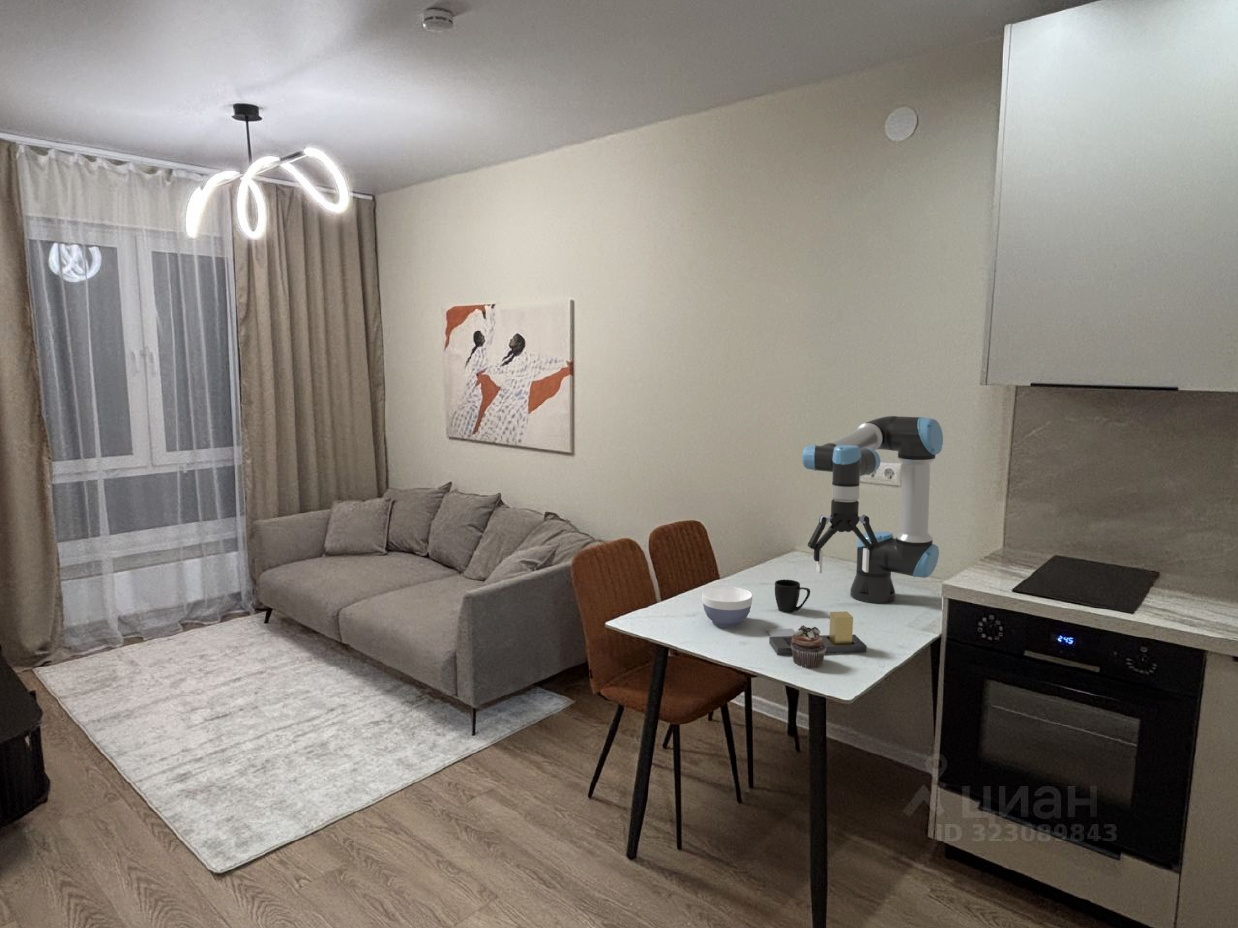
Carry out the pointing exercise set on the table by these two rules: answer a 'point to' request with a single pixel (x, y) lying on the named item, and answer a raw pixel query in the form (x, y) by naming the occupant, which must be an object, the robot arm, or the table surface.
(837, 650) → the dark grey peg board
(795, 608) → the mug
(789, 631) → the pad
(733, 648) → the table surface
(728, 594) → the bowl
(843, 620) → the tan wooden peg
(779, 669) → the table surface
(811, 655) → the cupcake
